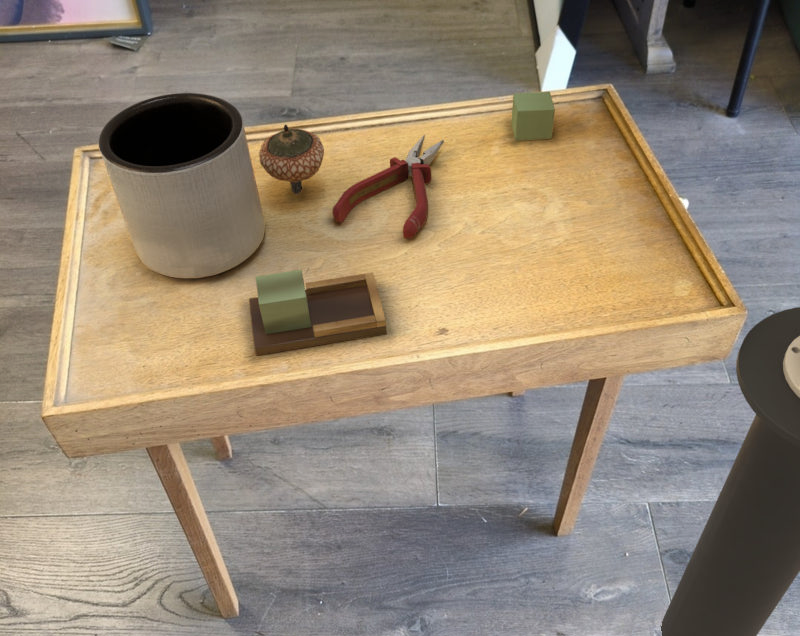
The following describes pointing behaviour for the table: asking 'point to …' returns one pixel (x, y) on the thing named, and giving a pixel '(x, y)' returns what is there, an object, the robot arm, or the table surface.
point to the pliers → (392, 177)
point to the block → (532, 116)
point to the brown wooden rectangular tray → (313, 311)
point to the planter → (184, 183)
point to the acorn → (292, 156)
